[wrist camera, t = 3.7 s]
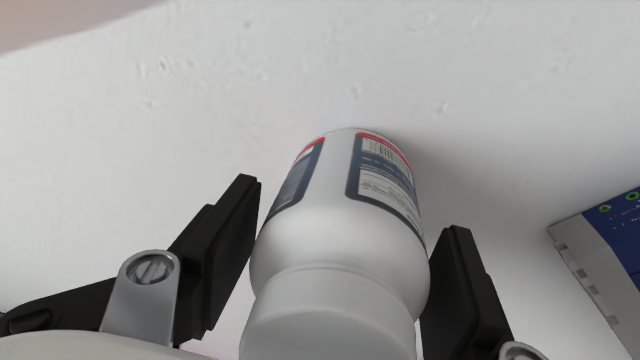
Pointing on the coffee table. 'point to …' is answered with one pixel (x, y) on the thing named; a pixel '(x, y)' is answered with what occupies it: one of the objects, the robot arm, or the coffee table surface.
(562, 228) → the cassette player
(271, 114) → the coffee table surface
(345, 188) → the pill bottle
